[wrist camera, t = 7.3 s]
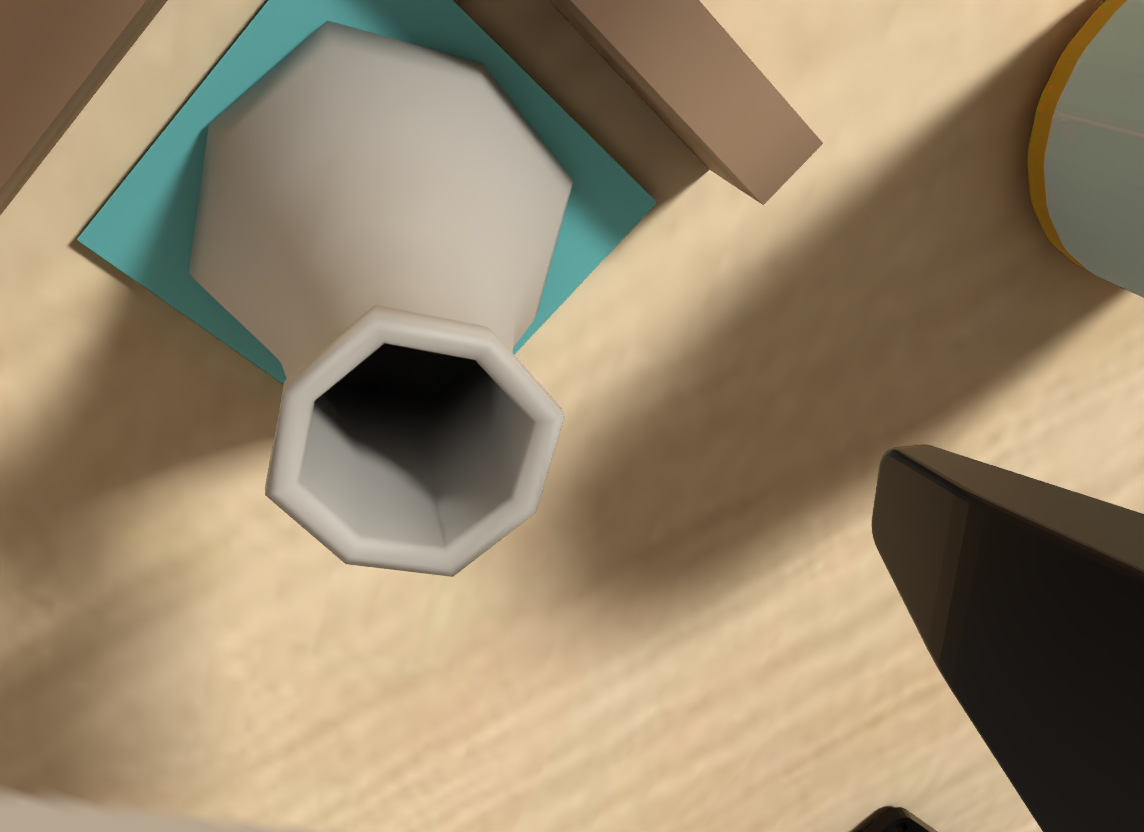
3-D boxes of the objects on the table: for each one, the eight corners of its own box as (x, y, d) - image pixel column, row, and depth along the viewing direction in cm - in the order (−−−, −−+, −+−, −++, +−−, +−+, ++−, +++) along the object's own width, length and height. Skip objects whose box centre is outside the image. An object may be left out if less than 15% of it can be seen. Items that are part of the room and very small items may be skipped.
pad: (653, 198, 21) (657, 202, 21) (405, 463, 23) (405, 469, 22) (349, -102, 18) (350, -102, 17) (80, 235, 19) (76, 239, 19)
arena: (762, 115, 21) (822, 143, 18) (309, 595, 24) (304, 679, 21) (322, -378, 16) (319, -439, 13) (-184, 301, 19) (-271, 362, 16)
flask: (124, 284, 19) (-57, 580, 11) (305, -58, 18) (267, -45, 9) (445, 443, 22) (513, 780, 13) (631, 164, 20) (851, 344, 12)
